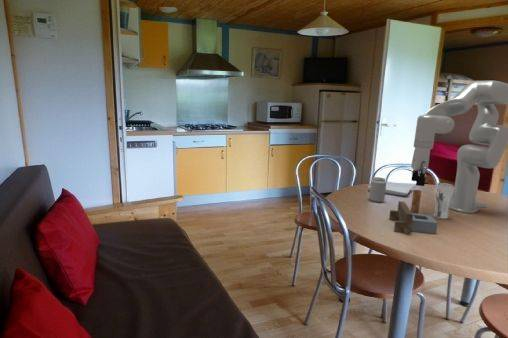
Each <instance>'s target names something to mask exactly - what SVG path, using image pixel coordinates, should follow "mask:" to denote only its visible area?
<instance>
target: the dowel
mask: <svg viewBox="0 0 508 338" xmlns="http://www.w3.org/2000/svg"><path fill="white" fill-rule="evenodd" d="M421 196H422V191H421V190H419V189H413V191H412V199H411V206H410V211H411V212H412V213H417V214H420V213H419V212H420V204H421V198H422V197H421Z"/></svg>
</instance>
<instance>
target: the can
mask: <svg viewBox="0 0 508 338" xmlns="http://www.w3.org/2000/svg"><path fill="white" fill-rule="evenodd" d="M386 181H387V180H386V178H384V177H379V176H377V177H376V176H374V177H372V179H371V180H370V185H369V186H370V189H369V196H368V199H369V200H370V202H372V203H383V202H384V201H385V199H386V193H385V191H386Z"/></svg>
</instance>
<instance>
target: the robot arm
mask: <svg viewBox="0 0 508 338" xmlns="http://www.w3.org/2000/svg"><path fill="white" fill-rule="evenodd" d="M474 105H476V106H477V115H476V118H475V121H474V123H473V124H472V127H471V130H470V132H469V136H468V138H469V141H470V142H472V143H473V144H464V145H462V146H460V147H459V148H458V150H457V154H456V162H457V164H456V165H457V167H456V176H455V183H454V192H453V198H452V201H451V204H450V207H449V210H453V211H456V212H461V213H465V214H466V213H467V214H475V212H476V213H478V212H479V208H480V209H487V203H481V202H477V201H476V200H477V195H478V187H479V182H480V177H481V174H480V171H479V168H483V169H494V168H496V167H497V166H498V165H499V163H500V162H501V160H502V158H503V155H504V153H505V151H506V148H507V146H508V127H507V126H505V125H500V124H497V123H498V121H499V117H500V116H499V115H500V114H499V111H498V109H497V107H496V106H495V105H508V83H506V82H503V81H498V80H493V79H491V80H489V79H488V80H474V81H470V82H469V83H468V84H466V85H465V86H464V87H463V88H462V89H461V90H460V91H459V92H457V94H455V95H454V96H453V97H452V98H450V99H448V100H445V101H443V102H441V103H438V104H436V105H434V106H432V107H431V108H429V109H428V110H427V111H425V113H424V114H423V115H418V117H417V120H416V127H415V134H414V141H413V148H414V150H413V154H412V155H413V156H412V160H411V164H410V167H411V169H412V175H411V181H412V182H415V185H416V186H418V187H420V186H421V187H424V186H425V183H426V178H427V172H428V169H429V163H430V154H431V150H433V148H434V143H435V137H436V134H443V135H445V134H448V133H451V132H452V131H453V130H454V128H455V121H454V119H453V118H452V117H454V116H459V115H462V114H466V113H467V112H468V111H469V110H471V108H472V107H474ZM476 144H477V145H476ZM478 144H479V145H478ZM477 211H478V212H477Z"/></svg>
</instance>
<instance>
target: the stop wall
mask: <svg viewBox="0 0 508 338" xmlns="http://www.w3.org/2000/svg"><path fill="white" fill-rule="evenodd" d="M388 219H389V221H394V227H393V231H394V232H395V233H396V232H397V233H402V234H405V235H411V232H412V231H411V226H412V219H413V214H412V212H411V208H410V207H409V206H408V205H407V203H406V201H400V200H399V201H398V205H397V210H393V209H390V210H389V217H388Z"/></svg>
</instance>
